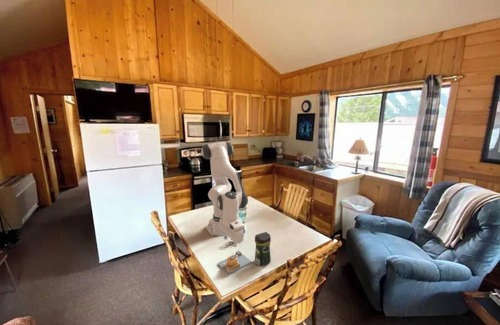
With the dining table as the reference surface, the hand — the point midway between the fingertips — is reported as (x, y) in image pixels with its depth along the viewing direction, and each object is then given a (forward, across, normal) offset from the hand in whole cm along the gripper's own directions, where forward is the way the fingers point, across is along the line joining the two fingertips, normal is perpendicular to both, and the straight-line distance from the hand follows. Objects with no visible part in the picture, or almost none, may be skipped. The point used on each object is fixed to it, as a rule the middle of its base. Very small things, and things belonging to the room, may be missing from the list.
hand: (229, 242), depth 122 cm
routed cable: (+16, -3, +6) cm, 17 cm away
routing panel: (+17, -1, +5) cm, 17 cm away
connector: (+15, +1, +1) cm, 15 cm away
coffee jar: (+16, +8, +19) cm, 26 cm away
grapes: (+17, -20, +21) cm, 34 cm away
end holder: (+16, +2, +1) cm, 16 cm away
